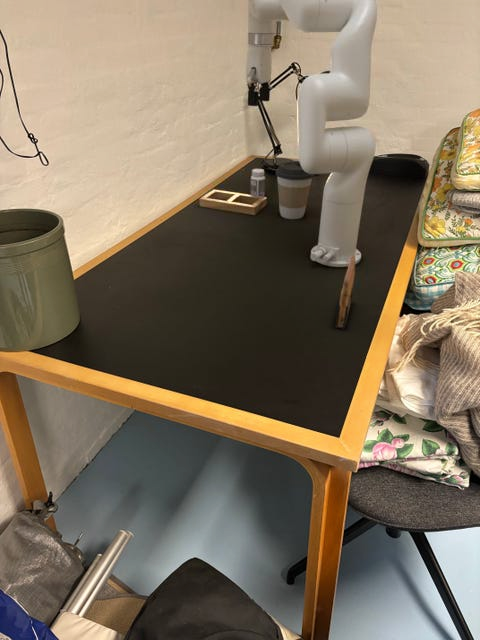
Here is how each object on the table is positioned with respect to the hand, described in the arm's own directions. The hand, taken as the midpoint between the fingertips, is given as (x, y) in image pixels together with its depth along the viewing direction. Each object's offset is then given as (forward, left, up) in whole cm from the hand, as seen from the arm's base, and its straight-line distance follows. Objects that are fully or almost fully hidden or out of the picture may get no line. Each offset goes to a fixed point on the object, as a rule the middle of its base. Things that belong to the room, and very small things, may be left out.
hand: (258, 103), depth 155 cm
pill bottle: (-2, -2, -28) cm, 29 cm away
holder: (-15, -2, -28) cm, 32 cm away
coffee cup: (-10, -21, -28) cm, 37 cm away
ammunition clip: (-52, -61, -28) cm, 85 cm away
